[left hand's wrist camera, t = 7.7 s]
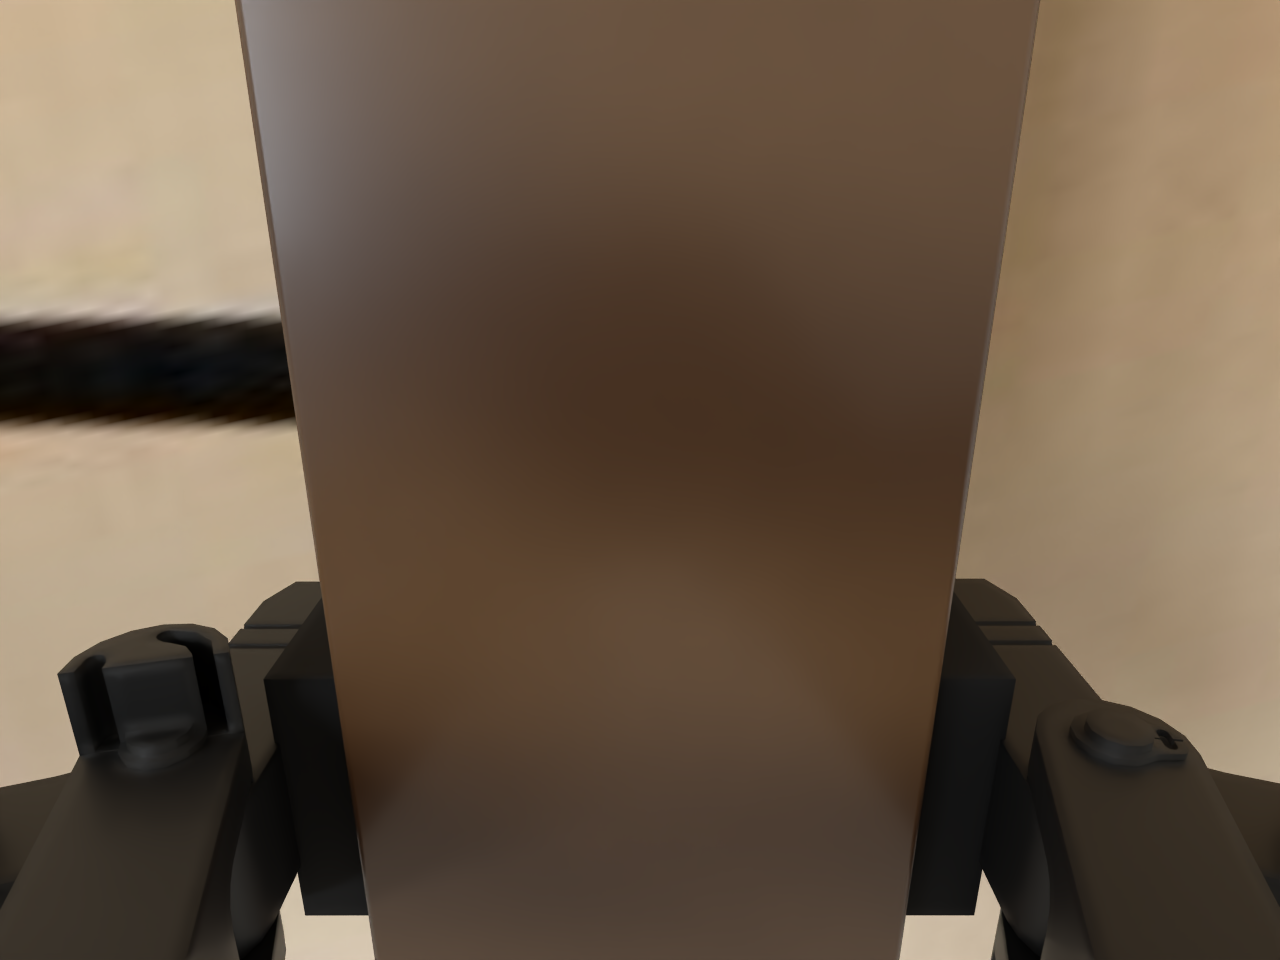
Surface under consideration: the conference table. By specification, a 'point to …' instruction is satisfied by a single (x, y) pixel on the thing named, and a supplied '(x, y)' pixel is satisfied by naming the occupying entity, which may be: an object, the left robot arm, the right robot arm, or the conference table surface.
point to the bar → (637, 446)
